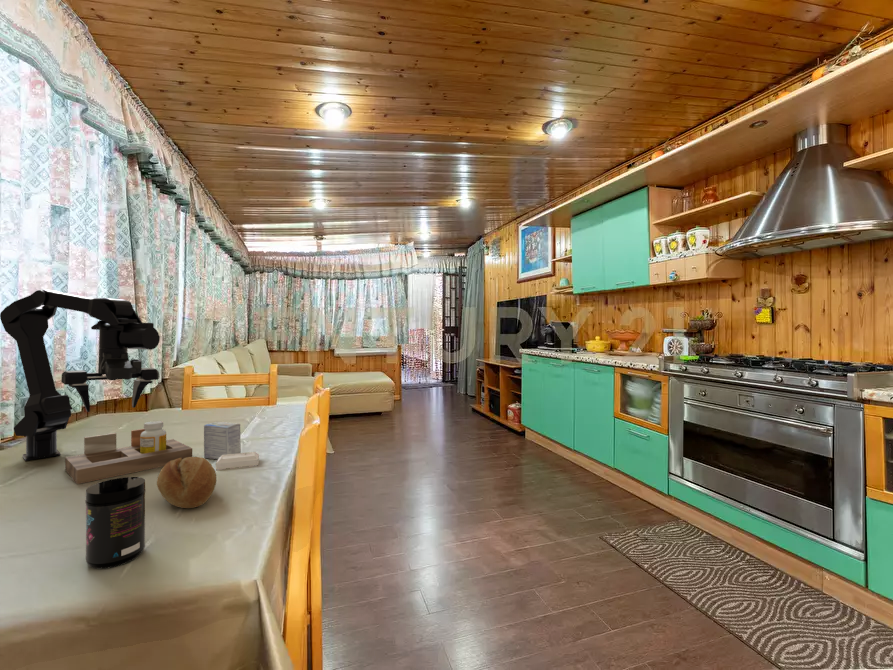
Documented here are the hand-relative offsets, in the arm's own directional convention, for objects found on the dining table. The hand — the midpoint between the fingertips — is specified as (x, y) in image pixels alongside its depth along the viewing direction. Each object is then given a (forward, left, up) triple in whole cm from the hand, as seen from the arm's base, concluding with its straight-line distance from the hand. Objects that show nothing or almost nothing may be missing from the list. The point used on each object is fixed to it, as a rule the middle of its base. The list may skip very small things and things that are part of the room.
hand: (111, 409), depth 107 cm
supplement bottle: (+10, +6, -13) cm, 17 cm away
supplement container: (+59, -11, -13) cm, 61 cm away
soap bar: (+29, +19, -13) cm, 37 cm away
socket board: (+10, +2, -13) cm, 16 cm away
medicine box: (+20, +19, -13) cm, 30 cm away
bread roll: (+44, +3, -13) cm, 45 cm away
